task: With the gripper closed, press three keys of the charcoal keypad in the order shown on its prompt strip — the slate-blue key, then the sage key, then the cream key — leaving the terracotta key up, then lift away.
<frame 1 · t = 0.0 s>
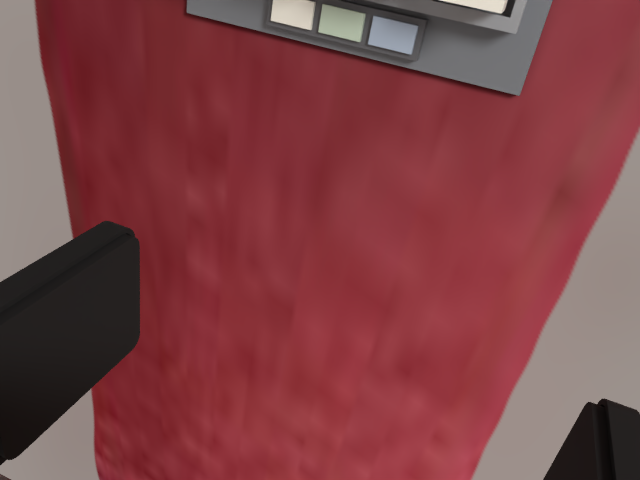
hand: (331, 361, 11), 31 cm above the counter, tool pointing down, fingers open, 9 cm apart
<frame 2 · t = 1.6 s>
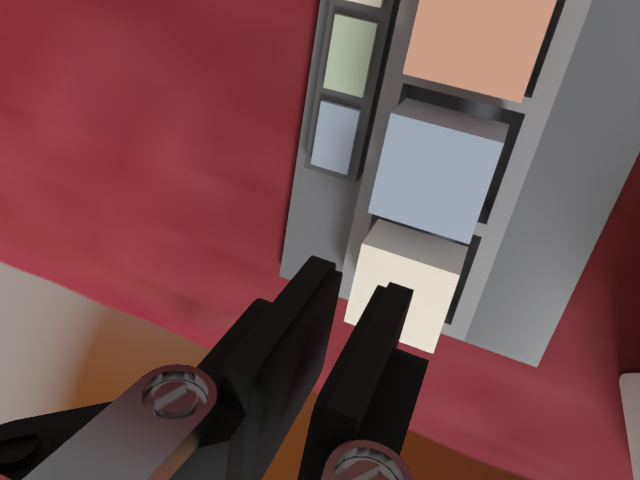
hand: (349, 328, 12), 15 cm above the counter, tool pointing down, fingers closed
keypad board: (473, 78, 23), on the counter
slate key: (437, 169, 21), point 4 cm above the counter, slide at 0.0 cm
cream key: (405, 284, 24), point 4 cm above the counter, slide at 0.0 cm
terracotta key: (482, 21, 19), point 4 cm above the counter, slide at 0.0 cm
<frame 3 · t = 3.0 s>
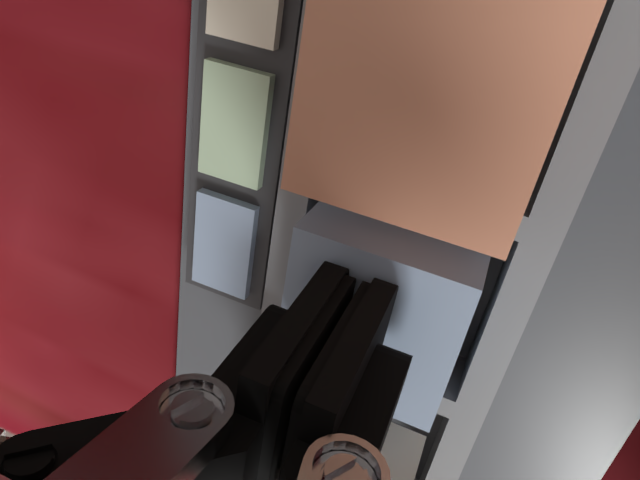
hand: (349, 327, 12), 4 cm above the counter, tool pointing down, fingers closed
keypad board: (435, 161, 14), on the counter
slate key: (379, 304, 13), point 3 cm above the counter, slide at 1.3 cm
terracotta key: (432, 91, 9), point 4 cm above the counter, slide at 0.0 cm
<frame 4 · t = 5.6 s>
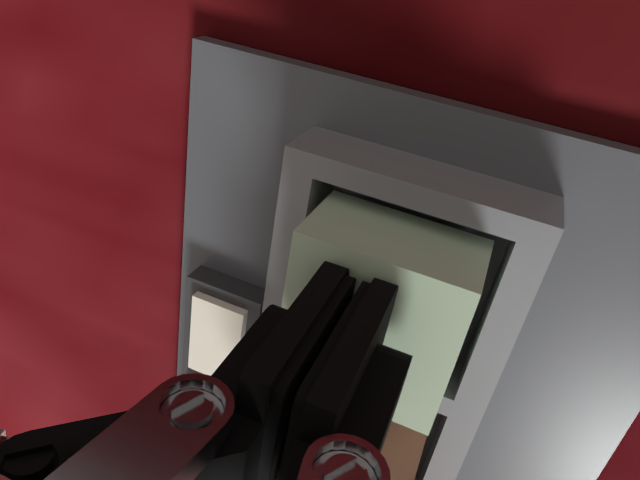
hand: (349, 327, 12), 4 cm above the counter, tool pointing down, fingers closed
keypad board: (354, 442, 20), on the counter
sage key: (379, 308, 13), point 3 cm above the counter, slide at 1.1 cm
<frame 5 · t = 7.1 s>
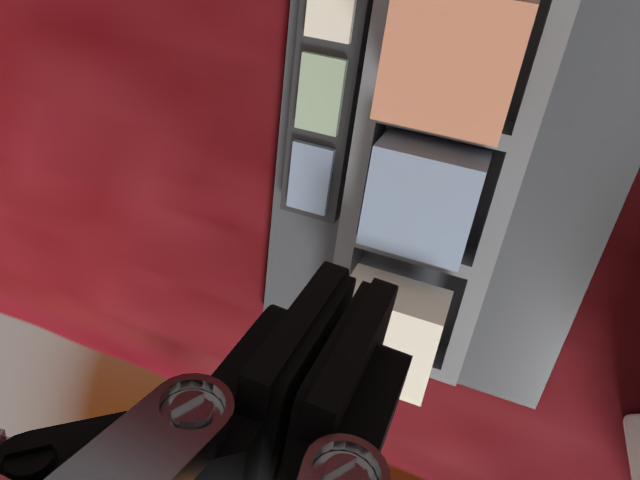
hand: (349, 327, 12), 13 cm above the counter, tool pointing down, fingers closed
keypad board: (451, 112, 22), on the counter
slate key: (423, 197, 21), point 3 cm above the counter, slide at 1.6 cm
cream key: (388, 333, 23), point 4 cm above the counter, slide at 0.0 cm
terracotta key: (453, 59, 17), point 4 cm above the counter, slide at 0.0 cm
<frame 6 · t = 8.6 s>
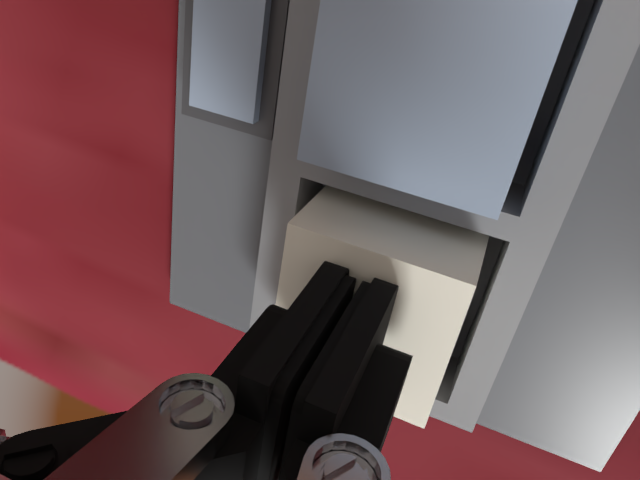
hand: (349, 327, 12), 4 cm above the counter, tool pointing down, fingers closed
slate key: (432, 71, 11), point 3 cm above the counter, slide at 1.6 cm
cream key: (374, 300, 13), point 3 cm above the counter, slide at 1.5 cm, touching gripper
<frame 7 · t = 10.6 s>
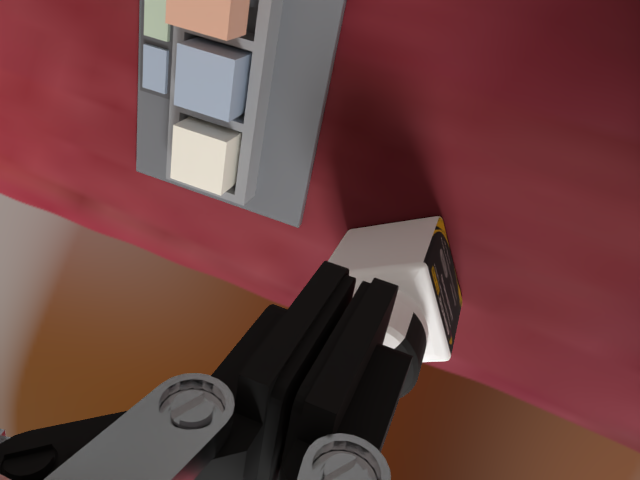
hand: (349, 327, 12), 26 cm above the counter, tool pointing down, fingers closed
keypad board: (236, 31, 37), on the counter
slate key: (212, 79, 36), point 3 cm above the counter, slide at 1.6 cm
cream key: (206, 155, 39), point 3 cm above the counter, slide at 1.6 cm
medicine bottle: (405, 263, 41), on the counter
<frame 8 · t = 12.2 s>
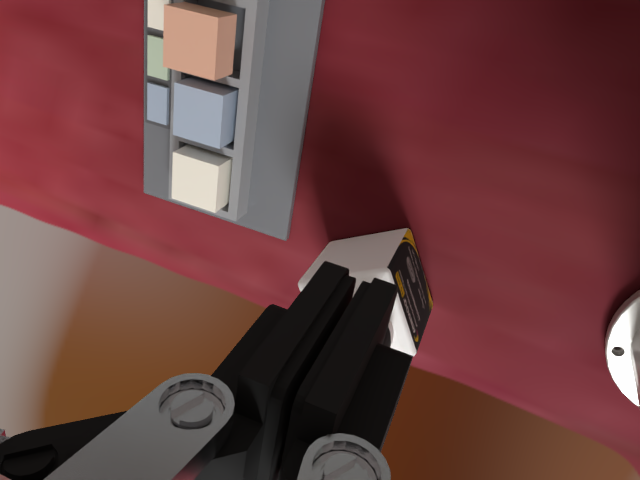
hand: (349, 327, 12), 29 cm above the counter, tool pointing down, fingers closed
keypad board: (226, 69, 43), on the counter
slate key: (206, 112, 42), point 3 cm above the counter, slide at 1.6 cm
cream key: (202, 177, 45), point 3 cm above the counter, slide at 1.6 cm
terracotta key: (199, 40, 38), point 4 cm above the counter, slide at 0.0 cm
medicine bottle: (381, 271, 46), on the counter
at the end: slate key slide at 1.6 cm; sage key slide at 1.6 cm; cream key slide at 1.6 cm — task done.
